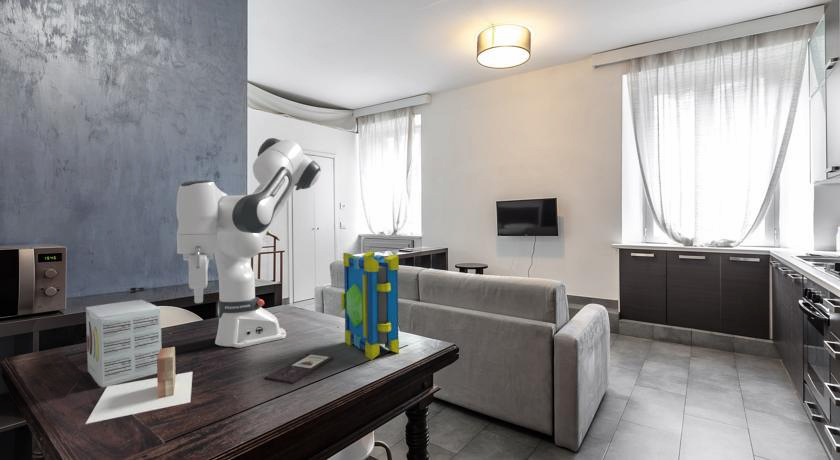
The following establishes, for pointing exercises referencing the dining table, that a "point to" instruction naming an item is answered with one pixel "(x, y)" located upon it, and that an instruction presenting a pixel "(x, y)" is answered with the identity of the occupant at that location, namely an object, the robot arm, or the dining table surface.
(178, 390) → the mat
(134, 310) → the supplement box
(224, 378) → the dining table surface
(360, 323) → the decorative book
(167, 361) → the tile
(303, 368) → the chocolate bar
